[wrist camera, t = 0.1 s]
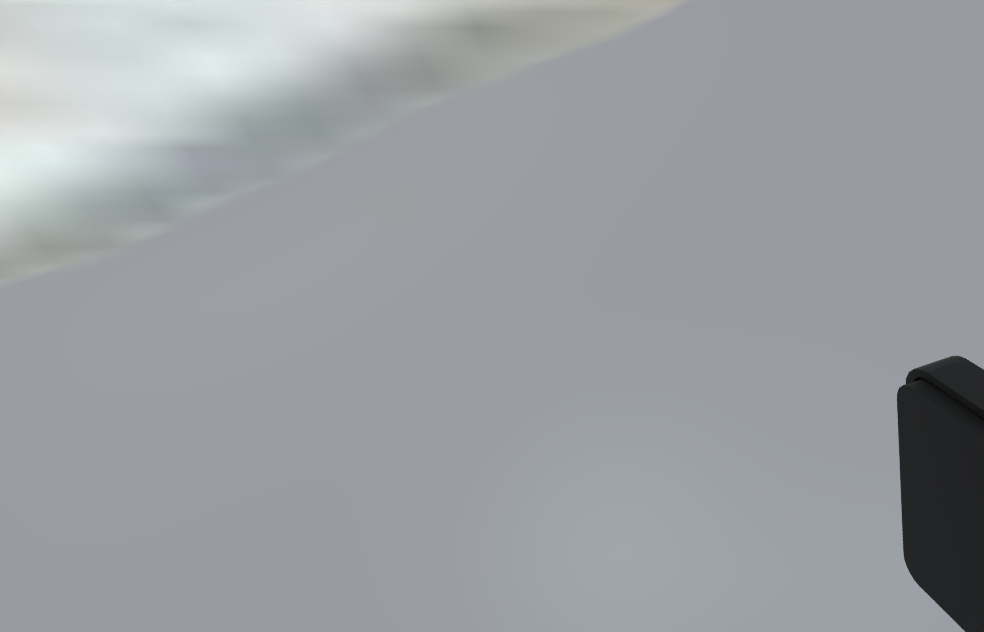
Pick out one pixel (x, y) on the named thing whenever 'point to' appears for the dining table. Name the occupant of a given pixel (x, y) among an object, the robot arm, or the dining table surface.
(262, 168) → the dining table surface
